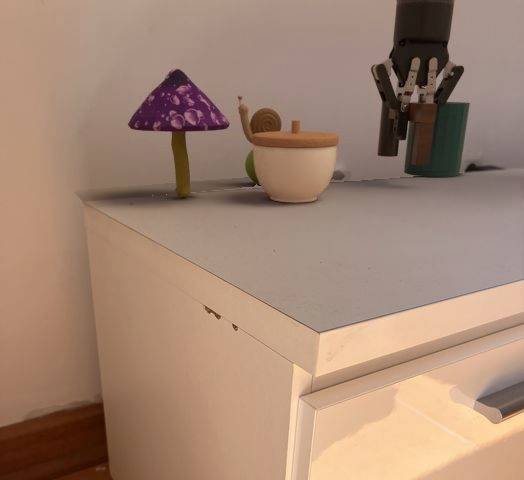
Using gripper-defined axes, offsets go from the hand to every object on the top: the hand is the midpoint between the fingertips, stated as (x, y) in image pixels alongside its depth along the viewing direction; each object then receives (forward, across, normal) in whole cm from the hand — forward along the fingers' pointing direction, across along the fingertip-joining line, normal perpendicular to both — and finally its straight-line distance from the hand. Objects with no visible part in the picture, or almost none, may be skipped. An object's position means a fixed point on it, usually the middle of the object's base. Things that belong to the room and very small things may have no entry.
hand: (409, 139), depth 83 cm
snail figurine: (+7, -22, +2) cm, 23 cm away
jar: (+6, +9, +10) cm, 15 cm away
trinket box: (+6, -20, -10) cm, 23 cm away
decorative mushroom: (+7, -34, -7) cm, 35 cm away
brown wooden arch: (+3, 0, +2) cm, 4 cm away
